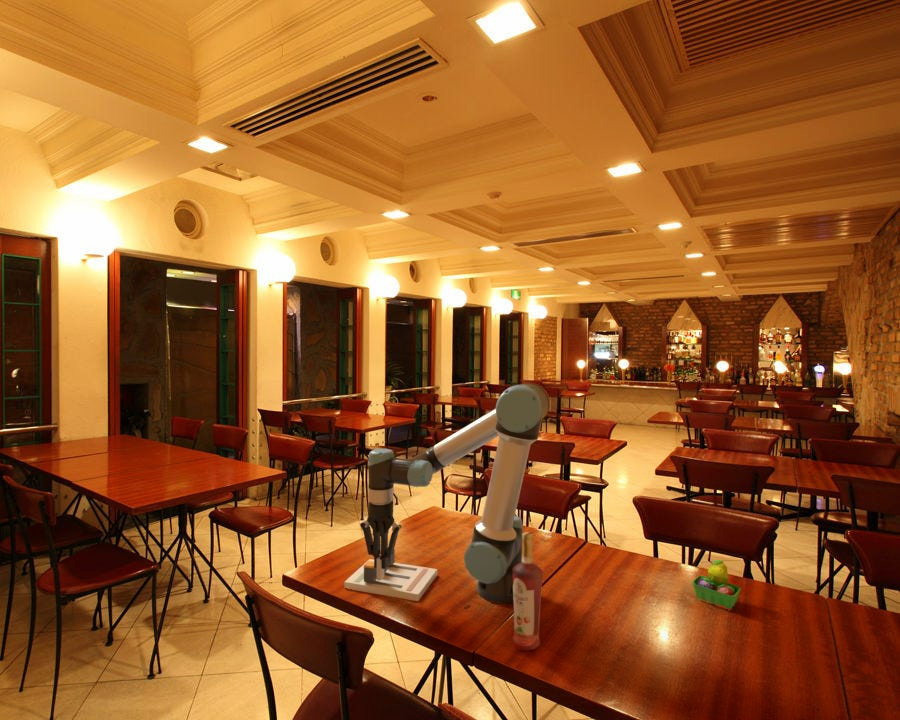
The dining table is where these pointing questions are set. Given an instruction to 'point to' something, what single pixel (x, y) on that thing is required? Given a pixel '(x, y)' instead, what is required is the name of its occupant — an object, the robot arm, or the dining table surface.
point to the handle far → (391, 559)
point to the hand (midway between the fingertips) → (380, 578)
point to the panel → (395, 581)
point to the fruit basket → (716, 586)
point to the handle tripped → (370, 572)
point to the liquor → (527, 598)
